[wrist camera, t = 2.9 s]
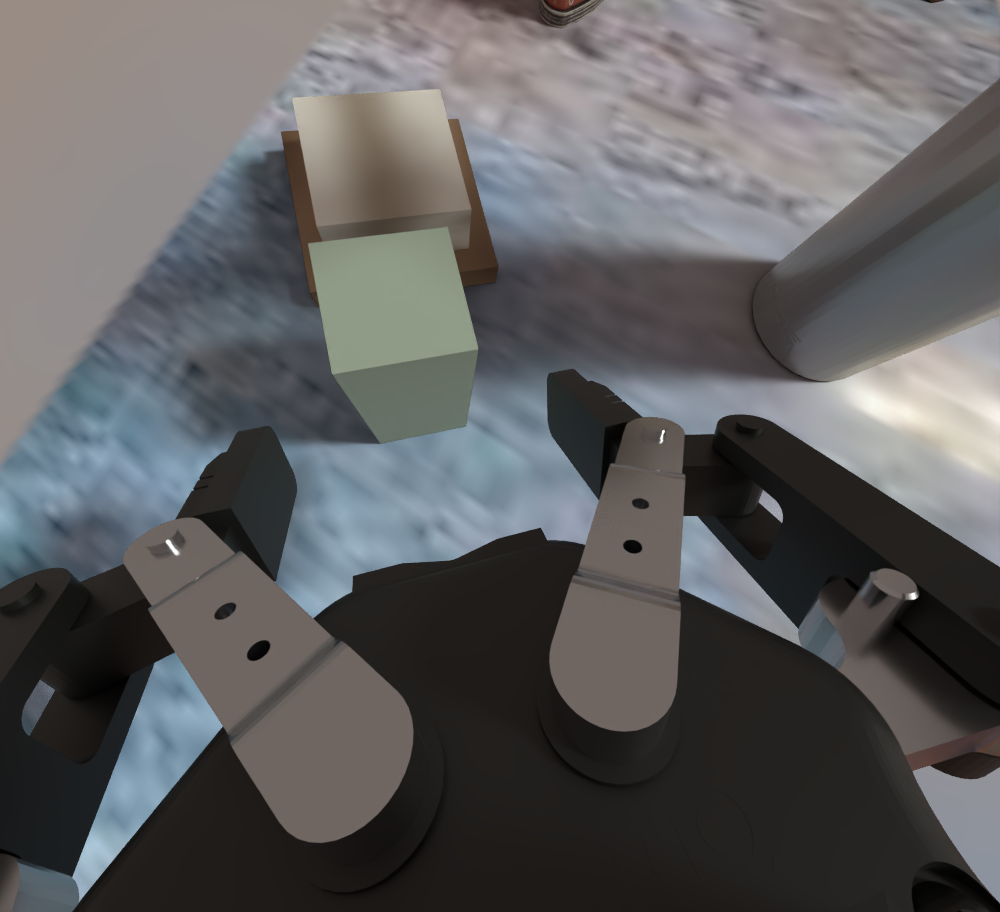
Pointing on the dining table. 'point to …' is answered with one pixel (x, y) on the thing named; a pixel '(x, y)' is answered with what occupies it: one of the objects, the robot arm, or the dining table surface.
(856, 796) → the robot arm
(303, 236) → the build base
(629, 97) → the dining table surface
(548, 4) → the lighter
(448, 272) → the green post
